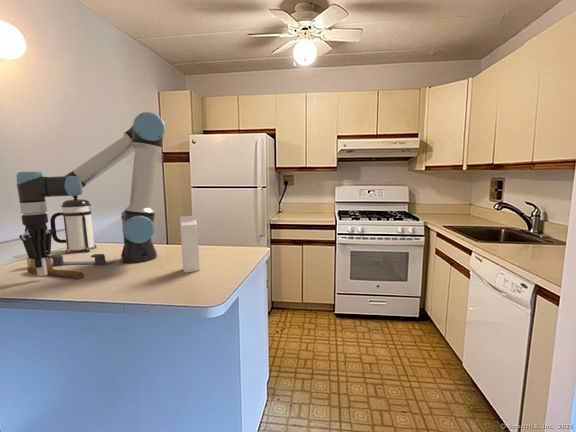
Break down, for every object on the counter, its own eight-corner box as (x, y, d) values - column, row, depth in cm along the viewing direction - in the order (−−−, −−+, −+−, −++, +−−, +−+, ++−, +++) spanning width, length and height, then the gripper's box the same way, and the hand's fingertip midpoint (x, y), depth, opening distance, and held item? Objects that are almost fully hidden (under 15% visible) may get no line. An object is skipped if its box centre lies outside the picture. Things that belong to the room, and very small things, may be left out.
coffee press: (89, 246, 178) (83, 193, 174) (102, 249, 168) (96, 193, 165) (53, 252, 164) (46, 195, 160) (65, 256, 155) (58, 196, 151)
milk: (200, 270, 126) (196, 216, 123) (184, 272, 123) (180, 217, 120) (197, 266, 131) (194, 214, 128) (182, 268, 129) (179, 215, 126)
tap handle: (76, 272, 118) (24, 266, 128) (77, 280, 118) (25, 273, 129) (84, 270, 121) (33, 264, 131) (84, 278, 121) (33, 271, 131)
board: (113, 262, 142) (112, 249, 141) (102, 267, 133) (100, 254, 133) (42, 263, 143) (41, 251, 142) (26, 269, 134) (25, 255, 134)
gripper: (38, 211, 123) (46, 270, 126) (8, 216, 110) (18, 281, 113) (57, 211, 122) (64, 269, 125) (29, 215, 109) (38, 280, 113)
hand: (42, 275), depth 119 cm, fingers closed
